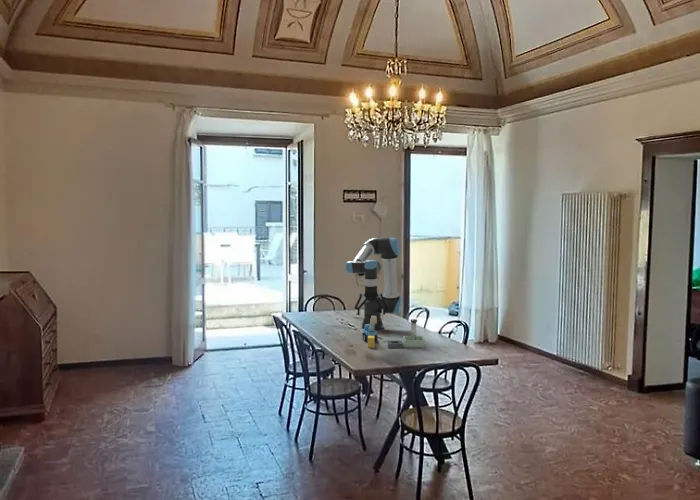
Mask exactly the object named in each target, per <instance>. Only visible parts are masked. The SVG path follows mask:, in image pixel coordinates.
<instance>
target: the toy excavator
mask: <svg viewBox="0 0 700 500" xmlns="http://www.w3.org/2000/svg"><path fill="white" fill-rule="evenodd" d="M376 323H377V317H376V316H371V319H370V324H366V325H365V328H364V329H363V332H362V333H361V339H362V340H363V341H364V342H368V336H374V337H375V341H378V340H379V339H378V338H379V337H378V332H377V331H376V329H374V328H375V325H374V324H376Z"/></svg>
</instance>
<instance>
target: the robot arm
mask: <svg viewBox="0 0 700 500" xmlns="http://www.w3.org/2000/svg"><path fill="white" fill-rule="evenodd" d="M374 255H377V256H380V259H382V261H383V262H382V263H383V265H382V263H381V262H380V261H378V260H375V259H370V257H372V256H374ZM399 255H401V245H400V241H399V239H398V238H397V237H373V238H370V239H368V240H366V241H365V242H363V244H362V245H361V246H360V250H359V251H358V253H357V254H356V255H355V257H354V258H353V260H349V261H346V262H345V271H346V273H348V274H364V293H359V298H358V299H357V301H356V303H355V306H354V310H357V316H359V321H362V323H361V328H362V329H363V330H364V328H365V325H366V324H370V319H371V316H376V317H377V323H376V324H374V325H375V328H374V330H381V329H384V322H383V321H384V316H385V315H386V314H391V315H395V314H396V315H398V314H400V312H401V311H402V307H403V297H402V296H401V295H400V293H399V292H398V281H397V280H398V278H397V259H398V258H399ZM382 270H383V279H384V280H383V281H384V293H382V292H380V293H378V286H377V285H378V274H379V273H380V272H381V271H382ZM363 297H364V298H363ZM362 298H363V301H362V302H361V300H362ZM362 307H363V313H364V314H363V315H364V316H363V319H362V318H361V317H362V314H361V313H362V312H361V311H362V309H361V308H362ZM361 319H362V320H361Z"/></svg>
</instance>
